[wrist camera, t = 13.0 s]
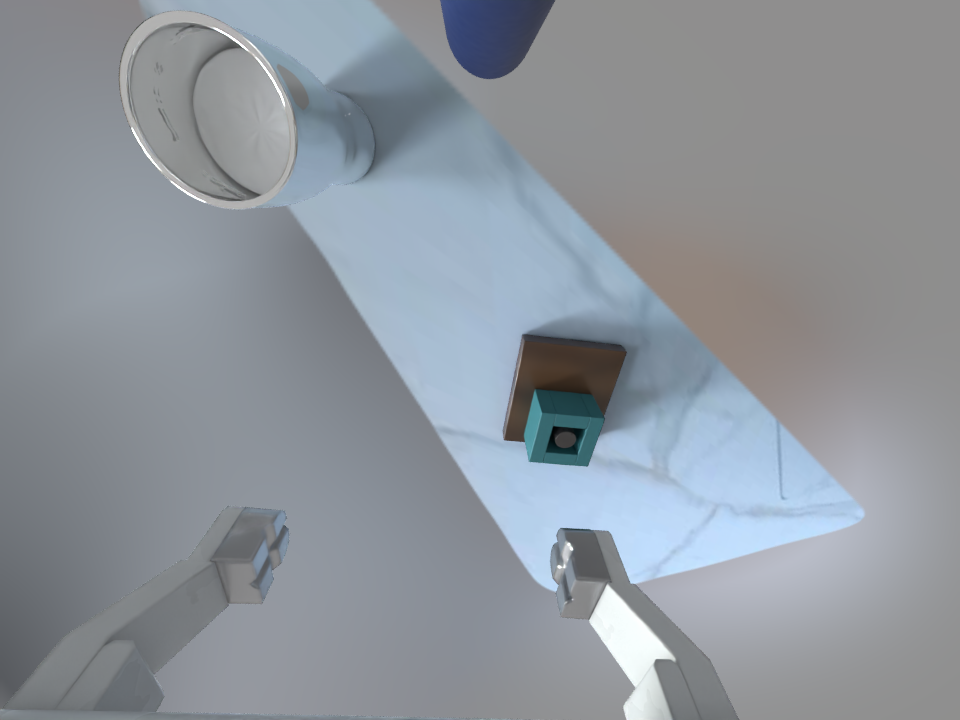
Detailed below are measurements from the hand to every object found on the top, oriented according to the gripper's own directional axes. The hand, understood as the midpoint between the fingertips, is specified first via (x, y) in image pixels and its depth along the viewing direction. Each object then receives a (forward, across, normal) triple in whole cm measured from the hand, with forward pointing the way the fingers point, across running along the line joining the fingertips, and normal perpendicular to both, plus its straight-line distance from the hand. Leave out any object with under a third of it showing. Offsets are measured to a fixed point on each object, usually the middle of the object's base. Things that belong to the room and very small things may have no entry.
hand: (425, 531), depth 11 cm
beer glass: (+25, +10, -10) cm, 29 cm away
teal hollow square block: (+24, -12, +12) cm, 29 cm away
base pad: (+25, -12, +10) cm, 30 cm away
